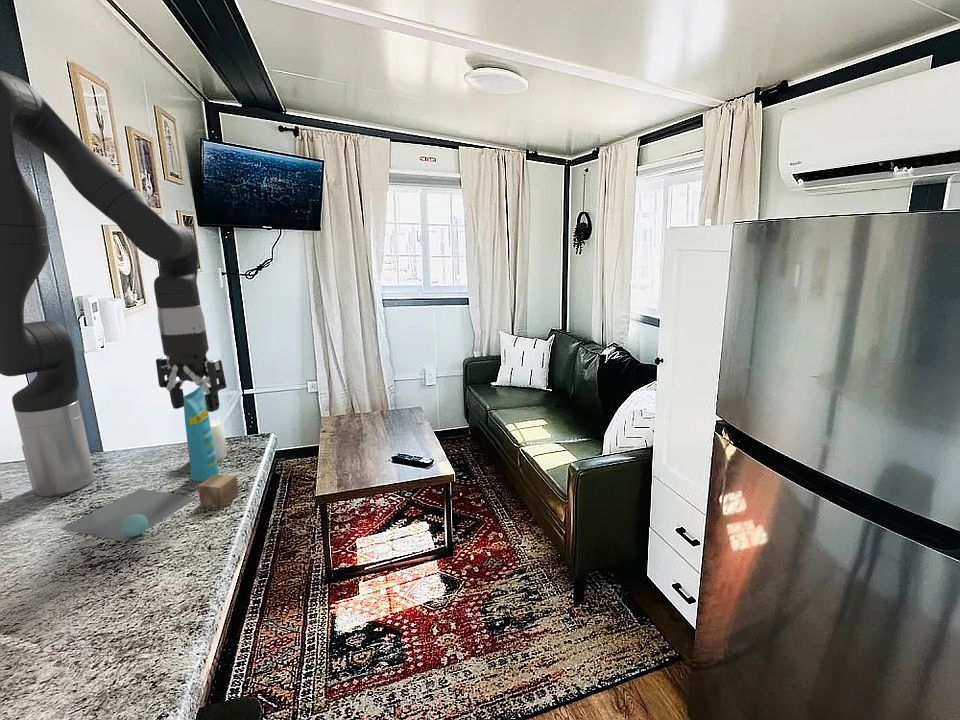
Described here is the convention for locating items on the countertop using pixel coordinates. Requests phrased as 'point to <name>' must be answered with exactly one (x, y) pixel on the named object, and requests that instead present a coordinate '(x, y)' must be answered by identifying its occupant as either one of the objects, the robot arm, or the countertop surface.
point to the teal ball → (134, 525)
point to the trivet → (129, 513)
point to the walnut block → (218, 490)
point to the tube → (199, 436)
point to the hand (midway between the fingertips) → (196, 409)
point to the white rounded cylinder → (218, 439)
